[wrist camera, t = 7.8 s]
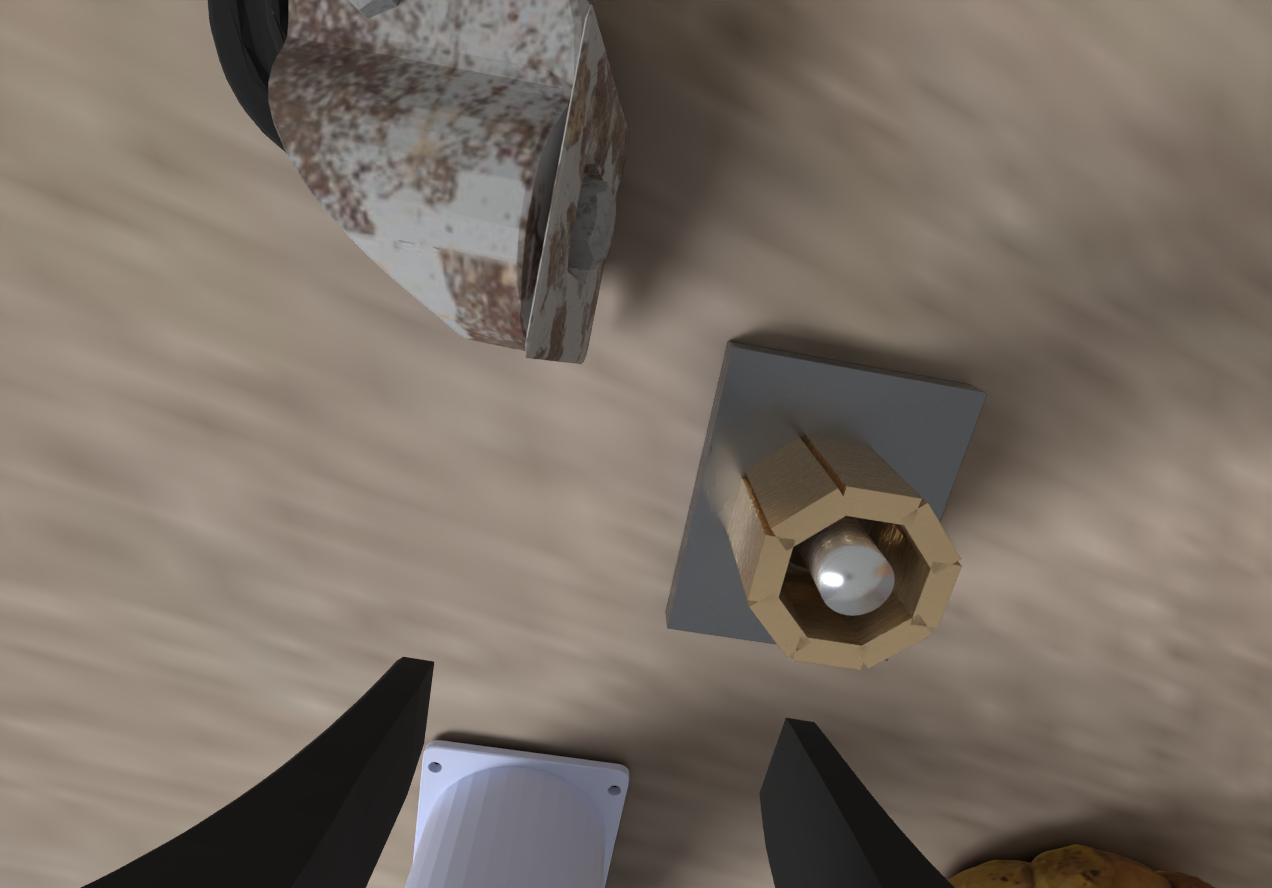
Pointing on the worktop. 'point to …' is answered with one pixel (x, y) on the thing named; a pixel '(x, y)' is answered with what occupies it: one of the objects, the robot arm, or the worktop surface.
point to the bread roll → (1072, 872)
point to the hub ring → (809, 502)
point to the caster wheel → (449, 147)
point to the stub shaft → (798, 407)
